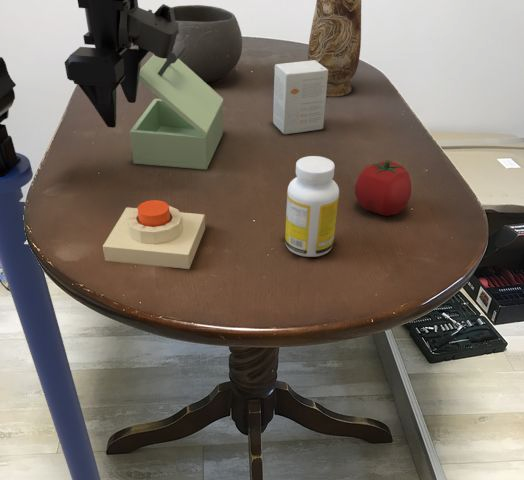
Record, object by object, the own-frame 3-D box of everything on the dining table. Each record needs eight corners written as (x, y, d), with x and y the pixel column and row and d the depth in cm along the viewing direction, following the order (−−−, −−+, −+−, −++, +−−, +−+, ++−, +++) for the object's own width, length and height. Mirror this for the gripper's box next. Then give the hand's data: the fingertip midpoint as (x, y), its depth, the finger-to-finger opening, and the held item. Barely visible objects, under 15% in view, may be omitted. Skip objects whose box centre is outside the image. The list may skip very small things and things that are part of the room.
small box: (311, 118, 112) (316, 59, 105) (323, 129, 108) (329, 69, 101) (272, 123, 110) (274, 63, 103) (283, 135, 106) (286, 73, 99)
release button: (135, 226, 75) (133, 214, 74) (143, 210, 78) (142, 198, 77) (165, 229, 75) (164, 216, 73) (173, 213, 77) (172, 201, 76)
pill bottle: (337, 238, 81) (348, 157, 73) (325, 263, 76) (335, 180, 68) (292, 229, 82) (297, 149, 74) (278, 253, 78) (282, 170, 70)
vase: (358, 84, 127) (381, -89, 106) (350, 101, 119) (373, -81, 99) (311, 78, 129) (324, -93, 108) (300, 95, 121) (312, -86, 101)
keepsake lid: (134, 77, 87) (152, 49, 84) (160, 48, 97) (177, 23, 95) (203, 136, 91) (223, 112, 89) (221, 102, 102) (238, 80, 99)
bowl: (146, 71, 129) (140, 5, 121) (221, 61, 136) (220, -2, 127) (175, 98, 118) (170, 28, 109) (256, 86, 124) (257, 19, 116)
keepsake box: (133, 163, 96) (129, 131, 92) (157, 128, 107) (154, 98, 103) (206, 169, 95) (205, 137, 91) (223, 133, 106) (222, 103, 102)
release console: (105, 260, 75) (100, 233, 73) (128, 221, 83) (124, 195, 80) (189, 269, 75) (187, 242, 72) (205, 228, 82) (204, 202, 79)
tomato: (343, 208, 87) (349, 161, 82) (375, 190, 91) (383, 145, 86) (388, 228, 83) (397, 181, 78) (419, 209, 87) (430, 162, 82)
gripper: (148, 8, 65) (161, 146, 75) (186, -26, 78) (193, 95, 89) (50, 2, 66) (77, 139, 76) (105, -31, 79) (121, 89, 90)
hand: (122, 114), depth 83 cm, fingers open, 9 cm apart
